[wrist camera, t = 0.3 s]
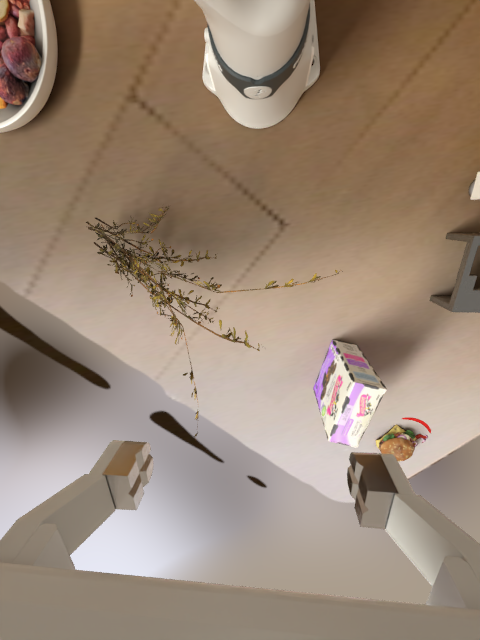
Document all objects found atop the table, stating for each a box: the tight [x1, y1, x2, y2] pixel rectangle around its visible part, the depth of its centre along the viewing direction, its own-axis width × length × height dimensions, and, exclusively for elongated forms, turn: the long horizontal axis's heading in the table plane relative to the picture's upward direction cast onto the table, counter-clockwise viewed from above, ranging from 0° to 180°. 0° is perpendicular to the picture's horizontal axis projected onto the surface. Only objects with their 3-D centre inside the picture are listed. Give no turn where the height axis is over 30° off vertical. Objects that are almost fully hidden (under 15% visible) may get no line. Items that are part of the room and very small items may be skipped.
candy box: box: [314, 340, 387, 448], centre depth 54 cm, size 14×6×16 cm, turn 168°
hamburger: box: [376, 418, 431, 461], centre depth 65 cm, size 14×14×6 cm
